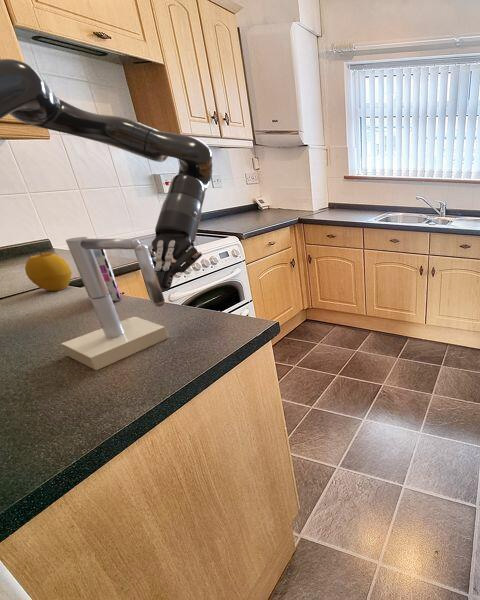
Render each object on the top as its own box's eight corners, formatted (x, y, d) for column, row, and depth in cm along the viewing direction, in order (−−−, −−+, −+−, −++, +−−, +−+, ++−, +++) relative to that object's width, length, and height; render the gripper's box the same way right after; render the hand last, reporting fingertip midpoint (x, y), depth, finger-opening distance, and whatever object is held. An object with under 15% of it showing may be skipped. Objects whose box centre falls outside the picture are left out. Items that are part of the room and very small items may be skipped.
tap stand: (96, 370, 66) (71, 315, 61) (66, 355, 71) (41, 303, 66) (168, 338, 77) (152, 289, 72) (138, 327, 82) (122, 281, 77)
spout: (89, 308, 68) (60, 240, 63) (102, 302, 71) (76, 236, 66) (159, 309, 68) (137, 240, 62) (170, 303, 71) (149, 236, 65)
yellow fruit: (48, 285, 108) (31, 250, 104) (84, 282, 111) (69, 247, 106) (27, 296, 100) (9, 258, 95) (67, 292, 103) (51, 255, 98)
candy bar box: (122, 300, 97) (101, 244, 90) (100, 305, 94) (77, 248, 87) (120, 289, 105) (101, 237, 98) (99, 293, 102) (78, 240, 95)
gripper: (217, 227, 79) (202, 296, 73) (162, 227, 79) (142, 296, 73) (199, 208, 72) (180, 282, 66) (138, 208, 72) (114, 282, 66)
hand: (160, 289), depth 70 cm, fingers closed
